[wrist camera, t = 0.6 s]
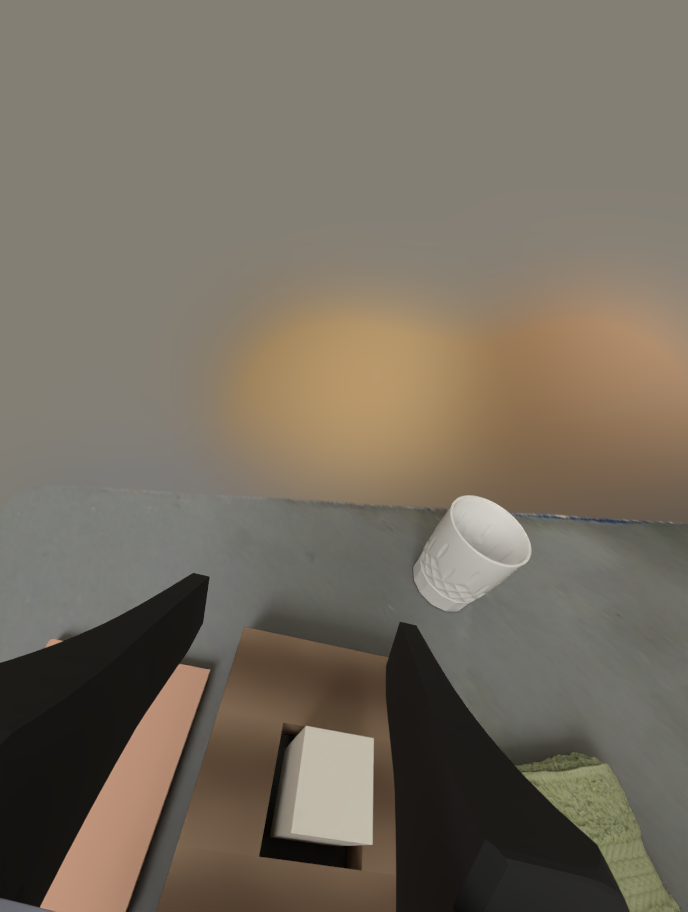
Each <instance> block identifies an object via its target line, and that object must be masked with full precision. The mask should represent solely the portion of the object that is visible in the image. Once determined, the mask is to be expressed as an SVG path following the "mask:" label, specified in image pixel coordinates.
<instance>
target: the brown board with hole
mask: <svg viewBox="0 0 688 912" xmlns="http://www.w3.org/2000/svg"><path fill="white" fill-rule="evenodd" d="M388 658H389V657H384V656H380V655H375V654H370V653H366V652H361V651H356V650H352V649H347V648H342V647H337V646H333V645H328V644H323V643H319V642H314V641H309V640H305V639H300V638H295V637H290V636H286V635H281V634H276V633H272V632H267V631H262V630H258V629H253V628H248V627H244V629H243V632H242V635H241V639H240V642H239V645H238V648H237V652H236V655H235V658H234V661H233V665H232V668H231V671H230V674H229V678H228V681H227V684H226V687H225V691H224V694H223V697H222V700H221V704H220V707H219V710H218V713H217V717H216V720H215V723H214V726H213V730H212V733H211V736H210V739H209V743H208V746H207V749H206V752H205V756H204V759H203V762H202V765H201V769H200V772H199V775H198V778H197V782H196V785H195V788H194V791H193V795H192V798H191V801H190V804H189V807H188V811H187V814H186V817H185V820H184V824H183V827H182V830H181V833H180V837H179V840H178V843H177V846H176V850H175V853H174V856H173V859H172V863H171V866H170V869H169V872H168V876H167V879H166V882H165V885H164V889H163V892H162V895H161V898H160V902H159V905H158V908H157V911H156V912H396V827H395V788H394V774H393V764H392V754H391V744H390V735H389V725H388V715H387V705H386V664H387V661H388ZM305 726H310V727H315V728H321V729H326V730H332V731H337V732H343V733H348V734H354V735H359V736H364V737H370V738H374V763H373V845H356V846H347V862H346V868H339V867H331V866H324V865H317V864H309V863H302V862H295V861H287V860H280V859H272V858H265V857H259V854H260V849H261V843H262V837H263V832H264V826H265V821H266V815H267V810H268V804H269V799H270V793H271V788H272V782H273V777H274V771H275V765H276V760H277V754H278V749H279V743H280V738H281V734H287V735H292V736H297V735H298V734H299V733H300V732H301V731H302V730H303V728H304V727H305Z"/></svg>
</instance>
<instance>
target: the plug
mask: <svg viewBox="0 0 688 912" xmlns="http://www.w3.org/2000/svg"><path fill="white" fill-rule="evenodd" d="M373 763H374V738H370V737H364V736H359V735H354V734H348V733H343V732H337V731H332V730H326V729H321V728H315V727H310V726H305V727H304V728H303V730H302V731H301V732H300V733H299V734H298V735H297V736H296V737H295V739H294V740H293V741H292V742H291V743H290V744H289V745H288V746H287V748H286V749H285V751H284V756H283V762H282V768H281V774H280V780H279V786H278V792H277V798H276V804H275V810H274V816H273V821H272V827H271V833H270V837H272V838H279V839H286V840H293V841H300V842H307V843H314V844H321V845H328V846H356V845H373Z"/></svg>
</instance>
